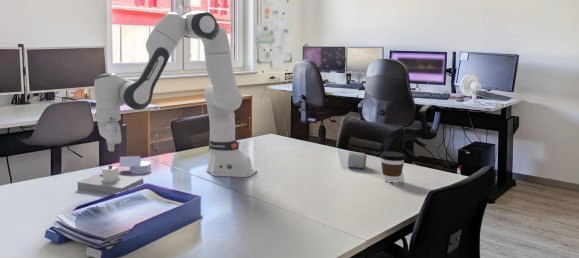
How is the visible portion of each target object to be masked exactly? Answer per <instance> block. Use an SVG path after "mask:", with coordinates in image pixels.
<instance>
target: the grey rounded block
mask: <svg viewBox="0 0 579 258" xmlns="http://www.w3.org/2000/svg"><path fill="white" fill-rule="evenodd" d="M367 157H368V156H367V154H366V153H365V152H357V151H351V150H350V151H349V152H348V157H347V168H350V167H355V168H354V169H360V168H363V169H365V168H366V165H367ZM356 167H357V168H356Z"/></svg>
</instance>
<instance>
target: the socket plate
mask: <svg viewBox="0 0 579 258" xmlns="http://www.w3.org/2000/svg"><path fill="white" fill-rule="evenodd" d="M141 184H144V177H135V176H129V175H121V174H119V180H118V181H116V182H114V183H109V182H103V172H100V173H97V174H95V175H92V176H90V177H87V178H85V179H83V180H80V181H77V191H85V192H93V193H100V194H108V195H113V194H115V193H118V192H122V191H125V190H128V189H130V188H133V187H136V186H138V185H141Z"/></svg>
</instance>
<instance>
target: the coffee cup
mask: <svg viewBox="0 0 579 258" xmlns="http://www.w3.org/2000/svg"><path fill="white" fill-rule="evenodd" d="M379 158H380V159H381V162H380V163H381V171H382V178H383V181H384V180H386V181H399V182H400V179H401V176H402V173H403V169H404V168H403V167H404V163H405V162H404V161H405V160H406V159H407V157H406V155H405V154H404V153H403V152H398V151H383V152H381V153H380V155H379Z"/></svg>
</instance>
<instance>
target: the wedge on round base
mask: <svg viewBox="0 0 579 258" xmlns="http://www.w3.org/2000/svg"><path fill="white" fill-rule="evenodd" d="M118 165H119V166H118V168H121V167H122V168H123V167H125V168H126V167H128V168H129V172H130V174H131V173H132V174H141V175H142V174H146V173H150V172H152V163H151V161H148V160H142V159H141V155H136V156H135V155H132V156H120V157H119V164H118Z"/></svg>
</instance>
